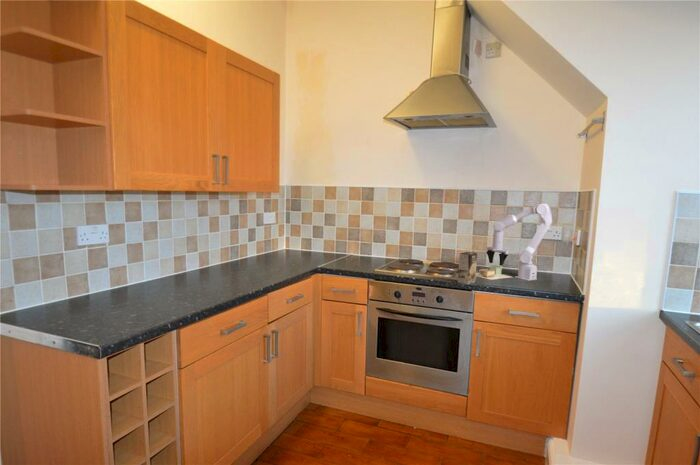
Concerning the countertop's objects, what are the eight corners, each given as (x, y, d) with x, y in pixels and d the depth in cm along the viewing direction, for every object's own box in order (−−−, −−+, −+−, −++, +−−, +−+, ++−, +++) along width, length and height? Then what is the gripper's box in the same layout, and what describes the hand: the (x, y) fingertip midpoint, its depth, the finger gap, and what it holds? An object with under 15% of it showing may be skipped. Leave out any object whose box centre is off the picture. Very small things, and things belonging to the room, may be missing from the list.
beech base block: (494, 277, 233) (494, 271, 232) (486, 277, 230) (487, 271, 229) (486, 274, 238) (486, 269, 237) (478, 275, 235) (479, 269, 234)
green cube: (501, 274, 241) (501, 266, 240) (495, 274, 239) (496, 267, 238) (495, 272, 245) (495, 265, 244) (489, 273, 243) (490, 265, 242)
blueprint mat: (512, 277, 235) (512, 276, 235) (490, 280, 226) (490, 279, 225) (490, 272, 248) (490, 271, 248) (469, 274, 239) (469, 273, 239)
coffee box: (468, 284, 214) (470, 254, 212) (457, 282, 218) (459, 253, 216) (475, 282, 221) (477, 252, 219) (464, 280, 225) (466, 251, 223)
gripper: (483, 240, 244) (481, 262, 245) (503, 243, 231) (501, 267, 233) (491, 239, 247) (489, 261, 249) (511, 243, 235) (509, 266, 236)
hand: (496, 264), depth 241 cm, fingers open, 7 cm apart
